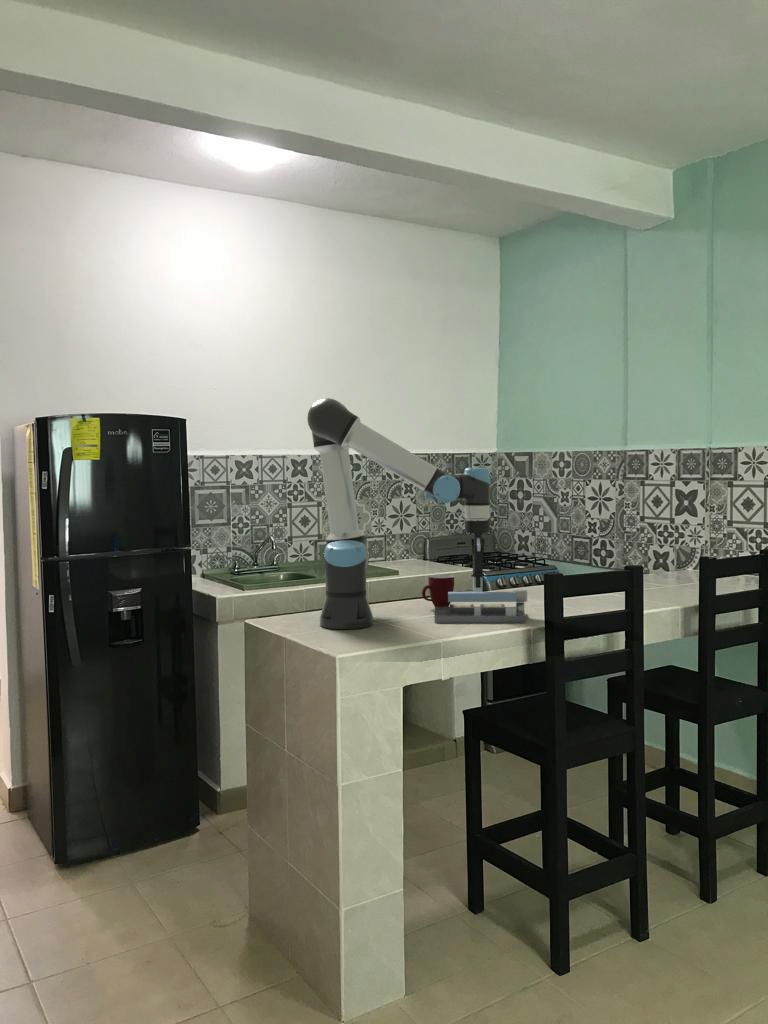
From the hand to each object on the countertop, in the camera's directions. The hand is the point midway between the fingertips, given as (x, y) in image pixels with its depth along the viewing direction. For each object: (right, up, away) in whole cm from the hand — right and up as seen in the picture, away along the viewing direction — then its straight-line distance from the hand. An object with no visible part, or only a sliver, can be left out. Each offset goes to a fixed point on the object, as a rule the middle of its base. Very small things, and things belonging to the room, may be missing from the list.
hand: (477, 597), depth 252 cm
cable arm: (+2, 0, -5) cm, 6 cm away
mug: (-11, -5, +12) cm, 17 cm away
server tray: (0, -5, -5) cm, 7 cm away
